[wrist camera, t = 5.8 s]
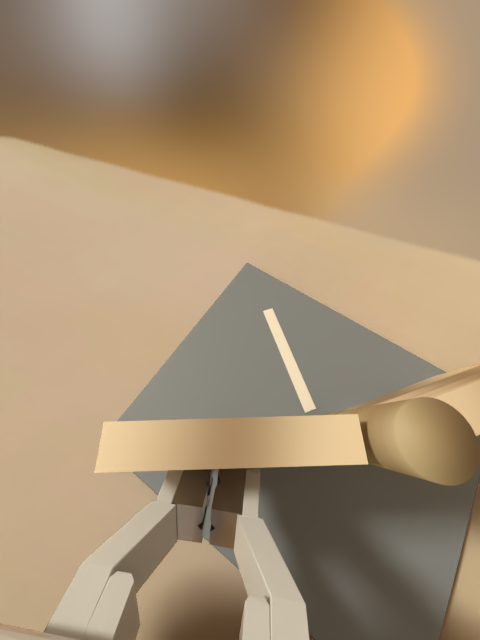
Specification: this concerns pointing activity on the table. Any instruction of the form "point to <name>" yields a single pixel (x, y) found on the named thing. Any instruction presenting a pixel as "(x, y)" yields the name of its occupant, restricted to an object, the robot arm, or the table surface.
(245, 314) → the board
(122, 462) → the hinged fence panel
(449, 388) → the fixed fence panel
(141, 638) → the table surface
